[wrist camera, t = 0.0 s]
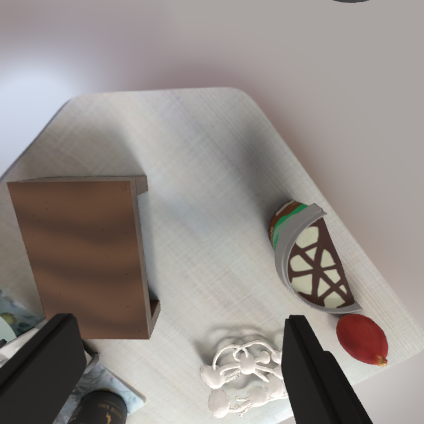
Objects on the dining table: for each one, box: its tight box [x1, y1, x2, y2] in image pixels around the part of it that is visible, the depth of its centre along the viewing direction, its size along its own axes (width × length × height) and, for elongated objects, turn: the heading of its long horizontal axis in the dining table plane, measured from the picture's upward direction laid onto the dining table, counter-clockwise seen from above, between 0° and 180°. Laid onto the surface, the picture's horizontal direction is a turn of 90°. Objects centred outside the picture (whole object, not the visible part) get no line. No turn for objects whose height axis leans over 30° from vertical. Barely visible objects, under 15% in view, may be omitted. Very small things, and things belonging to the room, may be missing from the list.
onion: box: [336, 314, 388, 367], centre depth 29 cm, size 6×6×8 cm
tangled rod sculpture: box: [200, 340, 288, 418], centre depth 34 cm, size 19×14×4 cm
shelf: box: [7, 176, 160, 340], centre depth 28 cm, size 22×14×6 cm, turn 1°
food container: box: [268, 199, 362, 314], centre depth 24 cm, size 12×6×10 cm, turn 27°
